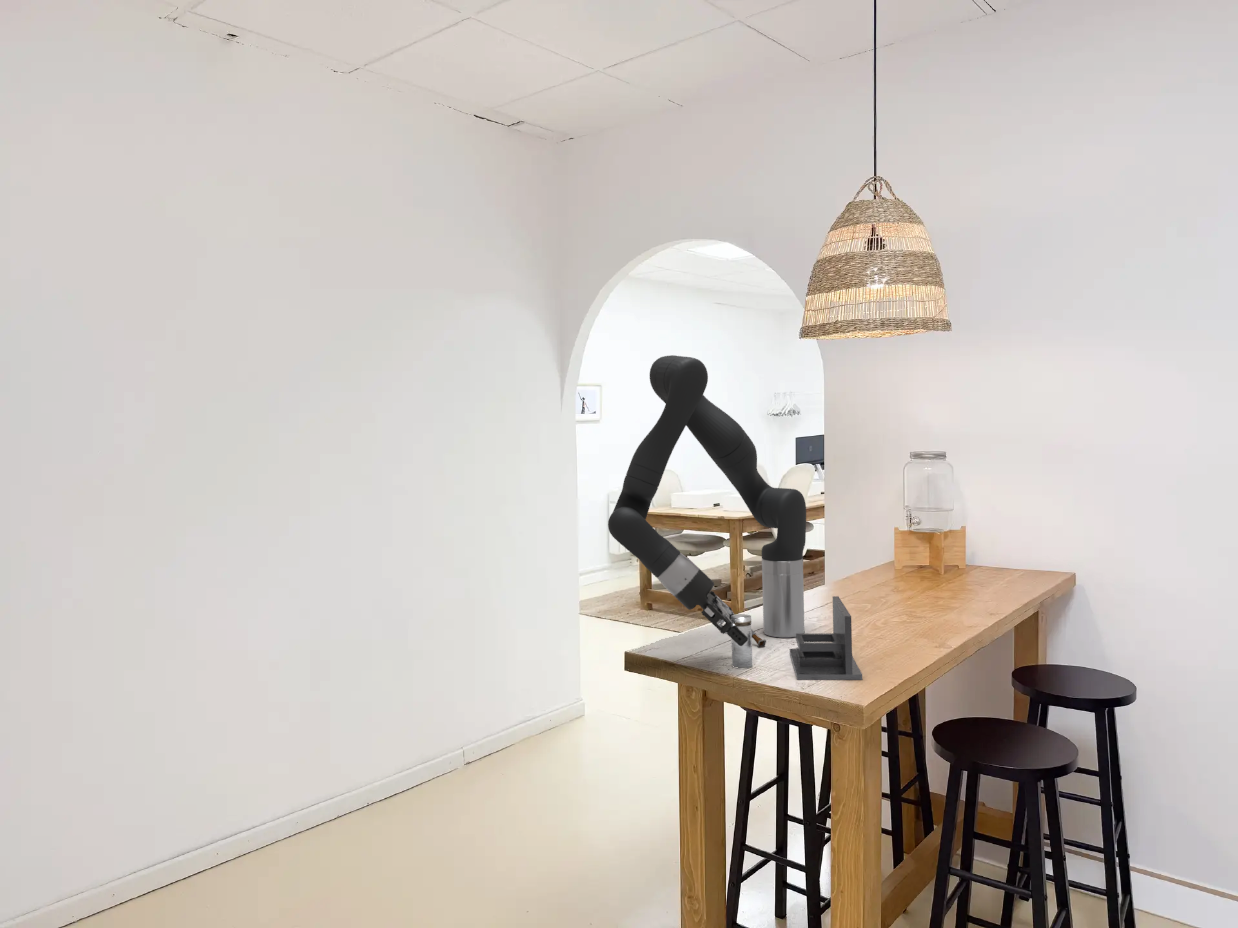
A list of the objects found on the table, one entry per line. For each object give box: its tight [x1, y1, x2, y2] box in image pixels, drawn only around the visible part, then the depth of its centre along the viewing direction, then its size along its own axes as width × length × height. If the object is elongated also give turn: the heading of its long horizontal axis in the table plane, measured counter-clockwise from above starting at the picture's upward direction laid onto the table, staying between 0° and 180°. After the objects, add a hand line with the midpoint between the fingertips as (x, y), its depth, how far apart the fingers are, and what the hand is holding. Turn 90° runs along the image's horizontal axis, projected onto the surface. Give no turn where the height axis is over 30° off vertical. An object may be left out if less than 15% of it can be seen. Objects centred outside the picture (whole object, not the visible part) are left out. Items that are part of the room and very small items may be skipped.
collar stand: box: [789, 595, 863, 681], centre depth 169 cm, size 18×12×12 cm, turn 173°
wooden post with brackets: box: [751, 628, 767, 648], centre depth 188 cm, size 2×8×4 cm, turn 29°
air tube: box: [730, 613, 753, 669], centre depth 171 cm, size 4×4×10 cm
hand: (744, 637), depth 171 cm, fingers open, 8 cm apart
